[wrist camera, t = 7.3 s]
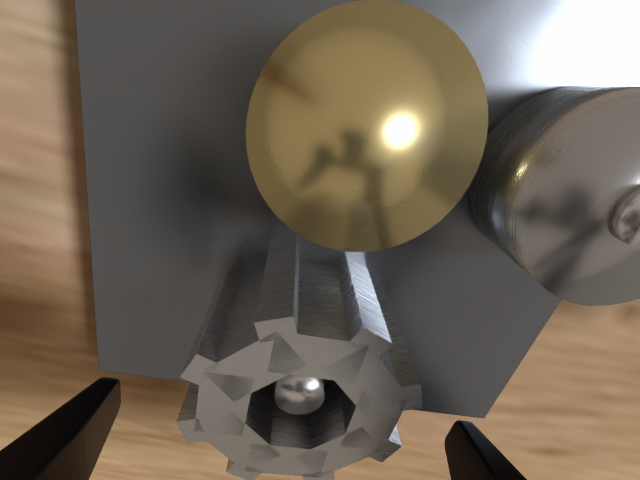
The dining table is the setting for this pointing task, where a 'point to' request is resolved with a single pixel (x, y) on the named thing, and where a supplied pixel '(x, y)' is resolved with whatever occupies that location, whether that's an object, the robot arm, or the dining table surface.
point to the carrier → (362, 169)
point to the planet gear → (298, 370)
